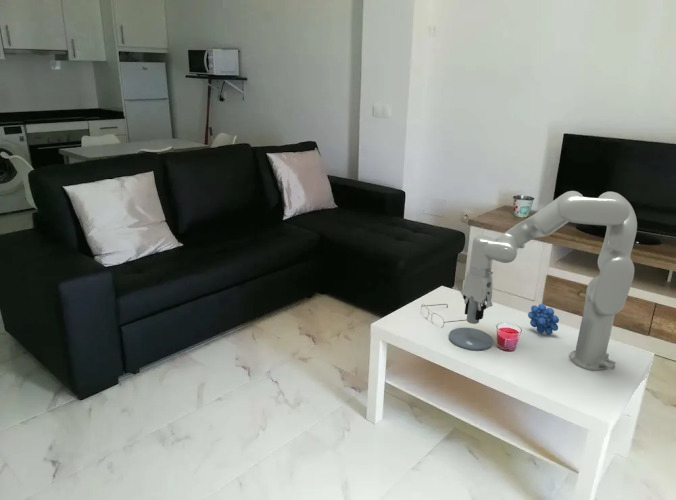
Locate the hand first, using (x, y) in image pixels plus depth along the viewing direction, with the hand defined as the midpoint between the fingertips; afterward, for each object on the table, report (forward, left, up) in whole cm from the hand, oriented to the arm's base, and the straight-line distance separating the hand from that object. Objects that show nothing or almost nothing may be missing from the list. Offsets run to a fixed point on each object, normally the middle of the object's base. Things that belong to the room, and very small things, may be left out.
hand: (473, 316), depth 192 cm
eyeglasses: (+19, -5, -11) cm, 22 cm away
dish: (0, 0, -10) cm, 10 cm away
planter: (0, 0, -2) cm, 2 cm away
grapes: (-10, -28, -10) cm, 31 cm away
